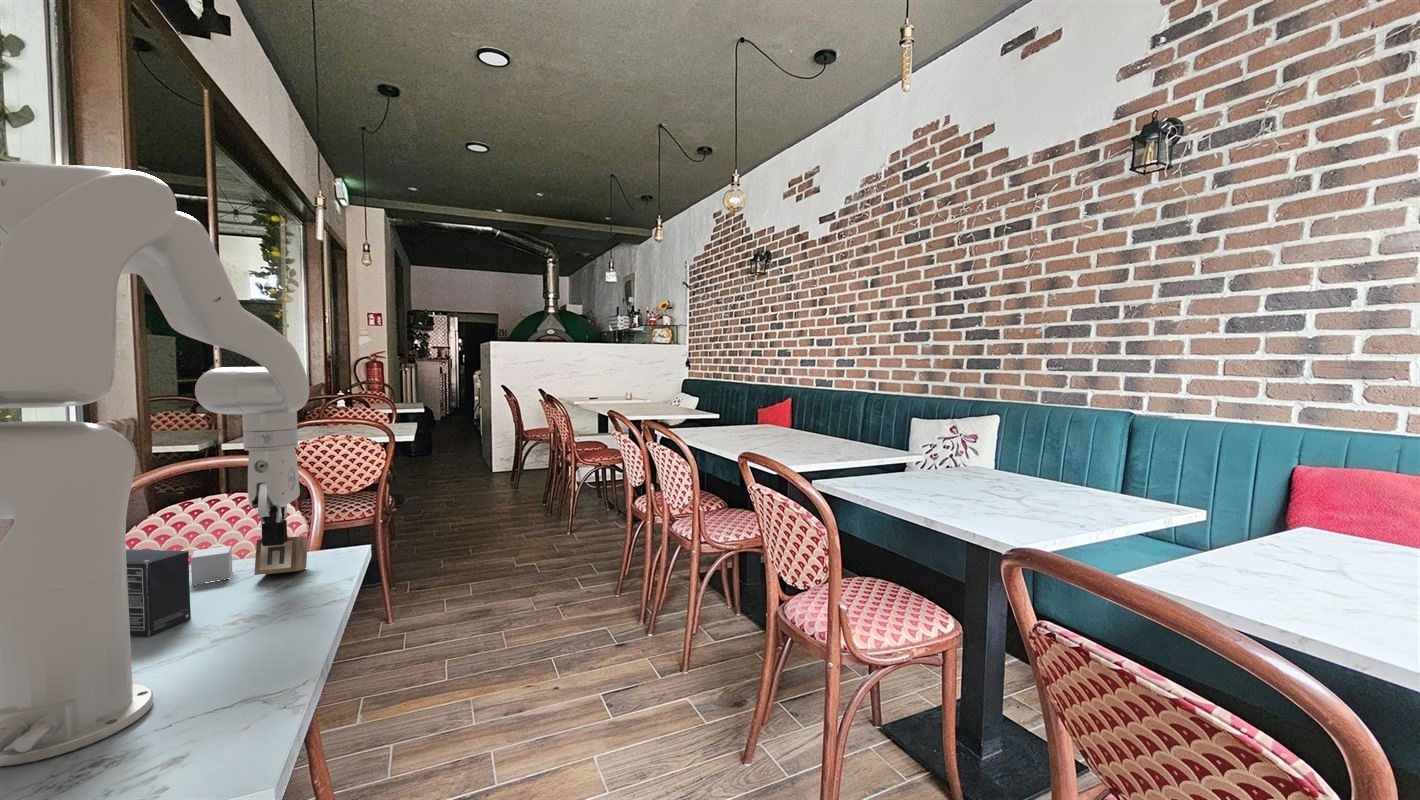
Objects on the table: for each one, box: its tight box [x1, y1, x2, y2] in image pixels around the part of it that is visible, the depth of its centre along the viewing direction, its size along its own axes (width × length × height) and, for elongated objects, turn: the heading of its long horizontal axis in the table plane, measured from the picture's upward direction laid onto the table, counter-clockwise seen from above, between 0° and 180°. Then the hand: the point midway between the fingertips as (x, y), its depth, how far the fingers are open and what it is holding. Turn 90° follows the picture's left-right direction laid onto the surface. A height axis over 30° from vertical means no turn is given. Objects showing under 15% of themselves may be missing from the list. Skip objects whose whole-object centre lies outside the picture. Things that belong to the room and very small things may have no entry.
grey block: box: [190, 545, 233, 586], centre depth 103 cm, size 5×5×5 cm
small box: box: [126, 548, 192, 638], centre depth 83 cm, size 11×6×10 cm, turn 84°
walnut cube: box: [254, 535, 309, 576], centre depth 105 cm, size 6×6×6 cm
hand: (275, 543), depth 101 cm, fingers closed
